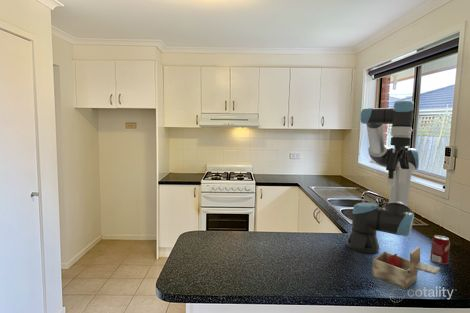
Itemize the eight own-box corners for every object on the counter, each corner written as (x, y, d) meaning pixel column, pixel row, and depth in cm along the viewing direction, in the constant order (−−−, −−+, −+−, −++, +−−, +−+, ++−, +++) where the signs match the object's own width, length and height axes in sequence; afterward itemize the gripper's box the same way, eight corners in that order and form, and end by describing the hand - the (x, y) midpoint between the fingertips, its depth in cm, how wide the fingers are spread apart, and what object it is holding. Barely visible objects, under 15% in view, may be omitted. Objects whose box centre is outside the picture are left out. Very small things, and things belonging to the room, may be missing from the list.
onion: (380, 268, 119) (385, 250, 120) (393, 273, 119) (397, 254, 120) (389, 272, 113) (393, 252, 114) (402, 276, 113) (406, 257, 114)
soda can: (440, 266, 126) (443, 240, 125) (426, 259, 133) (429, 235, 132) (451, 264, 128) (454, 239, 127) (437, 258, 134) (439, 234, 133)
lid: (410, 253, 105) (434, 258, 100) (418, 246, 112) (441, 251, 106) (410, 271, 106) (434, 278, 100) (418, 263, 112) (441, 269, 106)
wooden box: (371, 275, 115) (373, 258, 115) (383, 266, 123) (384, 250, 123) (408, 290, 105) (409, 271, 105) (418, 279, 113) (419, 262, 113)
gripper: (400, 136, 111) (395, 189, 113) (419, 137, 127) (415, 183, 129) (380, 136, 116) (376, 185, 118) (401, 136, 133) (397, 180, 135)
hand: (396, 184), depth 124 cm, fingers open, 13 cm apart
